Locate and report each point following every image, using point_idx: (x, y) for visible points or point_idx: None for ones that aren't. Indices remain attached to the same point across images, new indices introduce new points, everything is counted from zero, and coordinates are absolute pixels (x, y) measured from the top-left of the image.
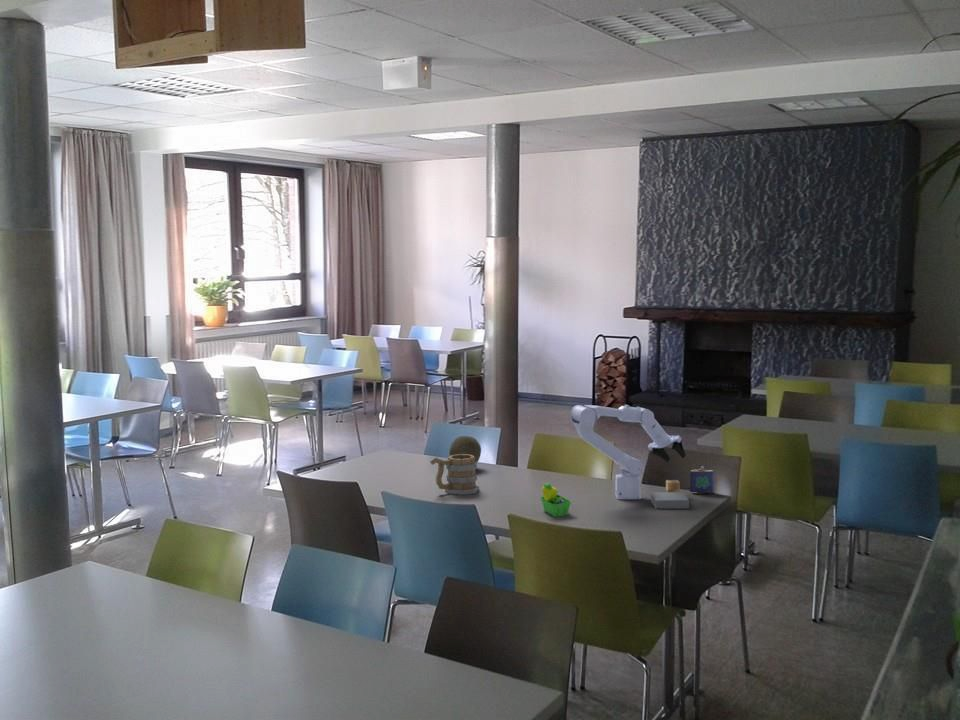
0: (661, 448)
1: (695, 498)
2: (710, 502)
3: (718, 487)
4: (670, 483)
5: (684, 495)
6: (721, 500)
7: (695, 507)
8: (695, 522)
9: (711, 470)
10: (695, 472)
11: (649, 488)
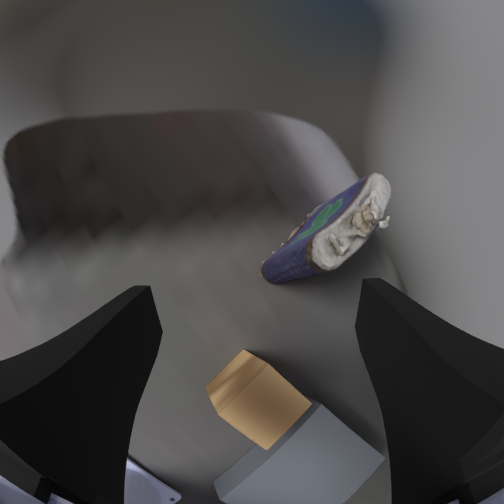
0: (71, 424)
1: (326, 338)
2: None
3: (288, 125)
4: (275, 439)
5: (350, 435)
6: None
7: (378, 426)
8: None
9: (384, 186)
10: (344, 261)
11: (65, 321)
